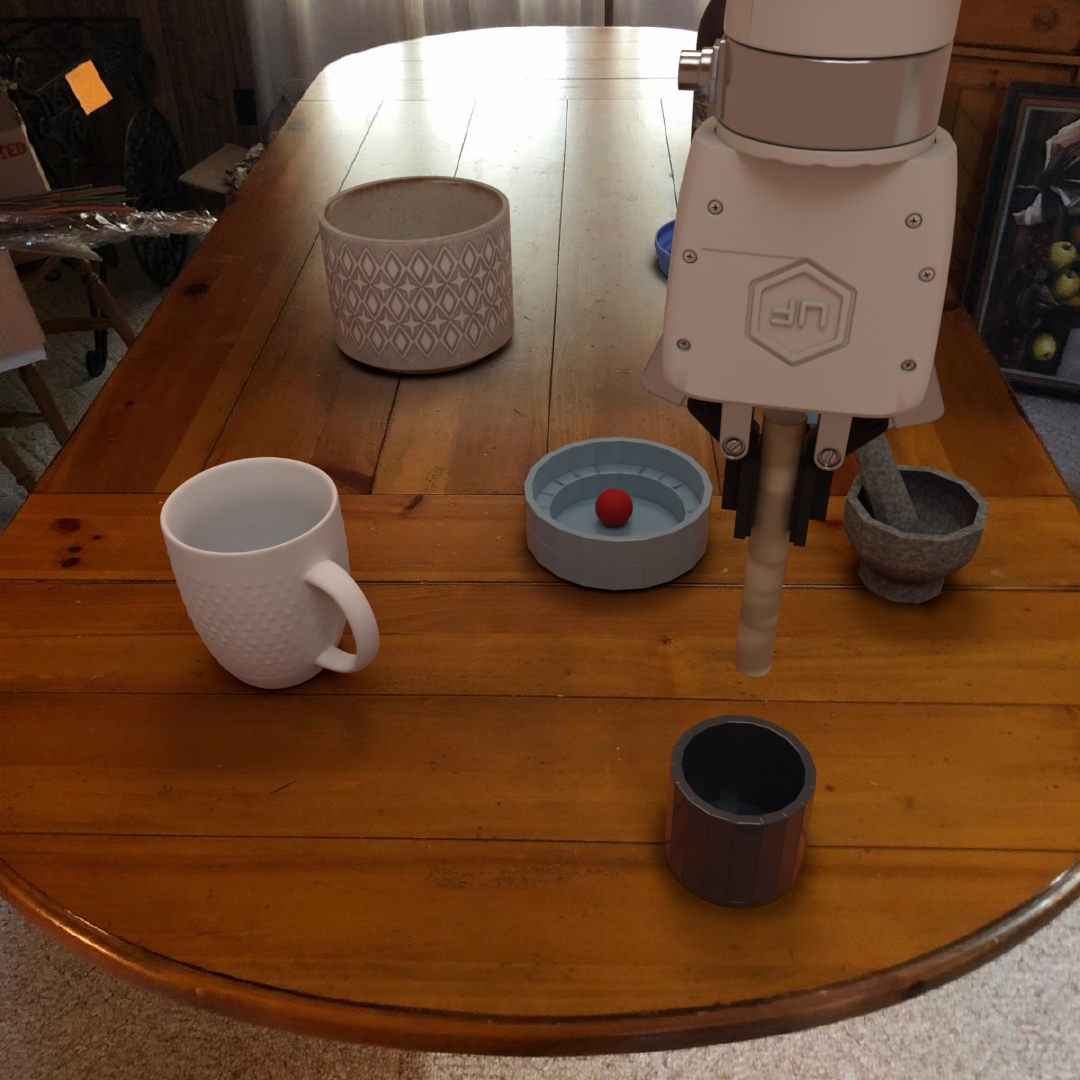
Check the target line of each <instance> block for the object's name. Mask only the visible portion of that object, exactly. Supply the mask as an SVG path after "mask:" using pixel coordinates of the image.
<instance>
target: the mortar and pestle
mask: <svg viewBox="0 0 1080 1080" xmlns="http://www.w3.org/2000/svg"><path fill="white" fill-rule="evenodd" d="M853 454H854V458H855V461H856V465H857V466H856V467H857V470H858V473H859V474H857V475H855V477H854V479H853V481H852V484H851V486H850V488H849V490H848V492H847V494H846V496H845V502H844V508H843V530H844V533H845V535H846V538H847V539H848V542H849V543H850V545H851V547H852V548H853V550H854V552H855V553H856V555H857V556H858V557H859V559H860V560H861V562H860V564H859V567H858V571H857V576H858V577H859V578H860V580H861V582H862V583H863V584H864V586H865V587H866V590H868V591H869V592H871V593H873V594H875V595H877V596H880V597H882V598H884V599H886V600H888V601H890V602H893V603H909V604H922V603H924V602H926V601H929V600H931V599H933V598H936V597H938V596H940V595H941V592H942V589H943V586H944V583H945V579H946V577H947V576H949V575H953V574H955V573H957V572H959V571H961V569H962V568H964V567H965V566H966V565H968V564H969V563H970V562H971V561H972V559H973V558H974V555H975V553H976V552H977V550H978V548H979V546H980V543H981V540H982V536H983V532H984V528H985V525H986V521H987V517H988V513H989V509H990V506H991V505H990V503H989V502H988V501H987V500H986V499H985V498H984V496H982V495H981V493H980V492H979V491H978V490H977V489H976V488H975V487H974V486H973V484H971V482H970V481H968V480H966V479H963V478H962V477H961V478H960V477H958V476H956V475H953V474H950V473H948V472H945V471H943V470H940V469H937V468H935V467H932V466H929V465H928V466H926V465H905V464H897V462H896V459H895V457H894V454H893V452H892V450H891V447H890V445H889V442H888V440H887V436H886V435H885V432H884V433H883V434H881V435H880V436H878V437H876V438H875V439H873V440H872V441H870V442H868V443H867V444H865V445H864V446H862V447H860V448H859V449H857V450H856V451H854V452H853Z"/></svg>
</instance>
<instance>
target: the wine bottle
mask: <svg viewBox="0 0 1080 1080" xmlns="http://www.w3.org/2000/svg"><path fill="white" fill-rule="evenodd" d="M725 9H726V0H709V2H708V4H707V5H706V7H705V9H704V11H703V13H702V16H701V18H700V20H699V24H698V25H699V26H698V29H697V34H696V42H695V50H701V51H702V49H703V47H713V46H714V44H715V41H716V39H721V38H722V36H723V34H724V32H725V31H724V18H725ZM692 92H693V96H692V112H691V127H690V128H691V130H690V146H691V143H692V139H693V136H694V133H695V131H696V130H697V129H698V128H699V127H700V125H701V124H702V123H703V122H704V121H705V120H706V119H708V118H710V117H712V116H714V115H715V105H716V104H709V96H701V95H699V93H698V91H692Z"/></svg>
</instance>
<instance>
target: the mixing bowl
mask: <svg viewBox="0 0 1080 1080" xmlns="http://www.w3.org/2000/svg"><path fill="white" fill-rule="evenodd" d="M611 488H617V489H621V490H623V491H625V492H626V493H627V494H628V495H629V496H630V498H631V500H632V502H633V512H632V515H631V517H630V518H629V520H628V521H627V522H625V523H624V524H622V525H619V526H609V525H606V524H604V523H603V522H601V521H600V520H599V518H598V517H597V515H596V511H595V503H596V500H597V498H598V496H599V495H600V494H601V493H602V492H603V491H605V490H607V489H611ZM713 492H714V489H713V485H712V482H711V479H710V477H709V474H708V471H706V470H705V468H704V467H702V465H700V463H699V462H698V461H697V460H696V459H695V458H693V456H690V455H688V454H686V453H685V452H683V451H681V450H679V449H678V448H675V447H674V446H671V445H668V444H663V443H661V442H657V441H654V440H650V439H644V438H636V437H635V438H634V437H626V436H625V437H624V436H609V437H594V438H589V439H584V440H579V441H576V442H572V443H568V444H565V445H563V446H561V447H558V448H557V449H555V450H552V451H551V452H547V453H546V454H545V455H543V456H542V457H541V458H540V459H539V460H538V461H537V462H535V464H533V465H532V466H531V468H530V470H529V471H528V473H527V475H526V478H525V480H524V482H523V493H524V495H523V496H524V517H525V518H524V519H525V520H524V521H525V523H524V524H525V536H526V545H527V548H528V550H529V551H530V552H531V554H532V556H533V557H534V559H535V560H536V561H537V563H538V564H540V565H541V566H542V567H544V568H545V569H546V570H548V571H550V572H551V573H552V574H554V575H555V576H556V577H558V578H560V579H563V580H566V581H568V582H572V583H574V584H577V585H579V586H582V587H587V588H593V589H600V590H601V589H602V590H609V591H622V590H623V591H624V590H625V591H626V590H638V589H639V590H640V589H641V590H642V589H647V588H650V587H654V586H657V585H662V584H665V583H668V582H671V581H674V579H677V578H678V577H680V576H682V575H683V574H685V573H687V572H689V571H690V570H692V569H693V568H694V567H695V566H696V565H697V563H698V562H699V561H700V560H701V559H702V558H703V556H704V555H705V553H706V551H707V546H708V542H709V536H710V526H711V516H712V515H711V513H712V504H713V503H712V501H713Z"/></svg>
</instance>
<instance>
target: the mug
mask: <svg viewBox="0 0 1080 1080" xmlns="http://www.w3.org/2000/svg"><path fill="white" fill-rule="evenodd" d="M340 503H341V502H340V497H339V492H338V489H337V486H336V484H335V482H334V481H333V479H332V478H331V477H330V476H329V474H327V473H326V472H325V471H323V470H322V469H320V468H319V467H317V466H314V465H312V464H309V463H307V462H304V461H300V460H296V459H293V458H292V459H291V458H283V457H276V456H275V457H273V456H272V457H271V456H261V457H250V458H242V459H237V460H233V461H232V460H231V461H228V462H225V463H222V464H219V465H215V466H213V467H211V468H207V469H205V470H203V471H201V472H198V473H197V474H195V475H194V476H192V477H190V478H189V479H187V480H185V481H184V482H183V483H181V484H180V485H179V486H178V487H176V489H174V490H173V492H171V494H170V495H169V496H168V498H166V500H165V502H164V504H163V506H162V508H161V511H160V517H159V521H160V522H159V523H160V528H161V533H162V536H163V540H164V543H165V546H166V553H167V555H168V557H169V560H170V566H171V570H172V572H173V574H174V577H175V585H176V586H177V588H178V590H179V592H180V596H181V601H182V602H183V605H184V606H185V608H186V613H187V616H188V617H189V619H190V620H191V622H192V625H193V628H194V629H195V631H196V632H197V634H198V635H199V636H200V639H201V641H202V643H203V644H204V645H205V647H206V649H208V652H209V653H210V654H211V655H212V657H213V658H215V659H216V661H217V663H218V665H220V666H222V667H223V668H224V669H225V671H227V672H228V673H230V674H231V675H233V676H234V677H235V678H237V680H240V681H241V682H243V683H245V684H247V685H250V686H253V687H256V688H260V689H266V690H280V689H286V688H287V689H288V688H291V687H294V686H297V685H301V684H303V683H305V682H307V681H309V680H310V679H312V678H314V677H315V676H317V675H318V674H319V673H320V672H321V671H322V670H323V669H326V670H330V671H332V672H336V673H342V674H352V673H357V672H359V671H361V670H363V669H365V668H367V667H368V666H369V665H370V664H371V663H372V662H373V661H374V660H375V659H376V657H377V655H378V652H379V649H380V633H379V631H380V630H379V627H378V622H377V620H376V617H375V613H374V611H373V609H372V607H371V604H370V602H369V601H368V599H367V598H366V595H365V594H364V592H363V591H362V589H361V588H360V586H359V585H358V584H357V583H356V581H355V579H353V577H351V575H350V574H351V569H350V562H349V561H350V559H349V558H350V557H349V556H350V555H349V554H350V553H349V549H348V538H347V535H346V531H345V523H344V517H343V514H342V508H341V504H340ZM347 623H348V625H349V627H350V629H351V633H352V636H353V638H354V642H355V646H356V654H352V653H349V652H346V651H344V650H342V649H340V648H338V647H339V644H340V642H341V640H342V638H343V634H344V629H345V628H346V625H347Z"/></svg>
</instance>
